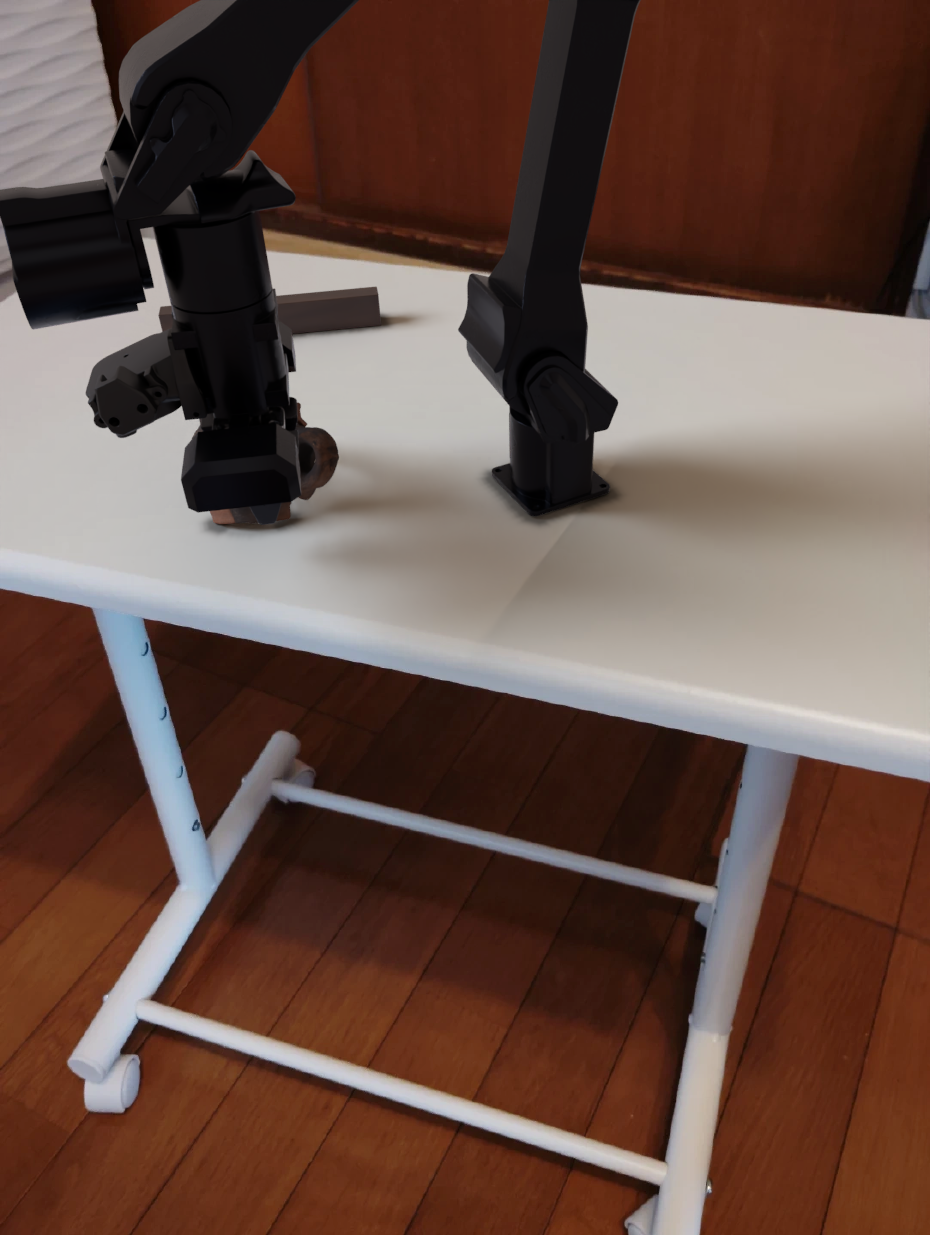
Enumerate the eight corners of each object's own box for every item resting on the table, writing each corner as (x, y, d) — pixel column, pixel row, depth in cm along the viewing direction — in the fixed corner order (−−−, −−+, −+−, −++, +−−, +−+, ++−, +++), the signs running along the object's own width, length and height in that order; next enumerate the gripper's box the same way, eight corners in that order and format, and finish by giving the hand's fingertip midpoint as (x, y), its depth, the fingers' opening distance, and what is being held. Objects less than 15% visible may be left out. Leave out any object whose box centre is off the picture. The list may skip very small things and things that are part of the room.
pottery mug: (172, 530, 72) (155, 411, 71) (254, 516, 80) (241, 410, 79) (312, 521, 67) (298, 393, 65) (385, 508, 75) (373, 394, 74)
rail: (381, 325, 96) (378, 294, 94) (165, 346, 94) (158, 315, 92) (379, 316, 97) (376, 286, 95) (167, 337, 95) (160, 306, 93)
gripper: (96, 246, 63) (156, 461, 74) (46, 385, 49) (128, 627, 59) (275, 229, 64) (310, 444, 74) (277, 361, 50) (319, 604, 60)
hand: (267, 521), depth 67 cm, fingers closed
